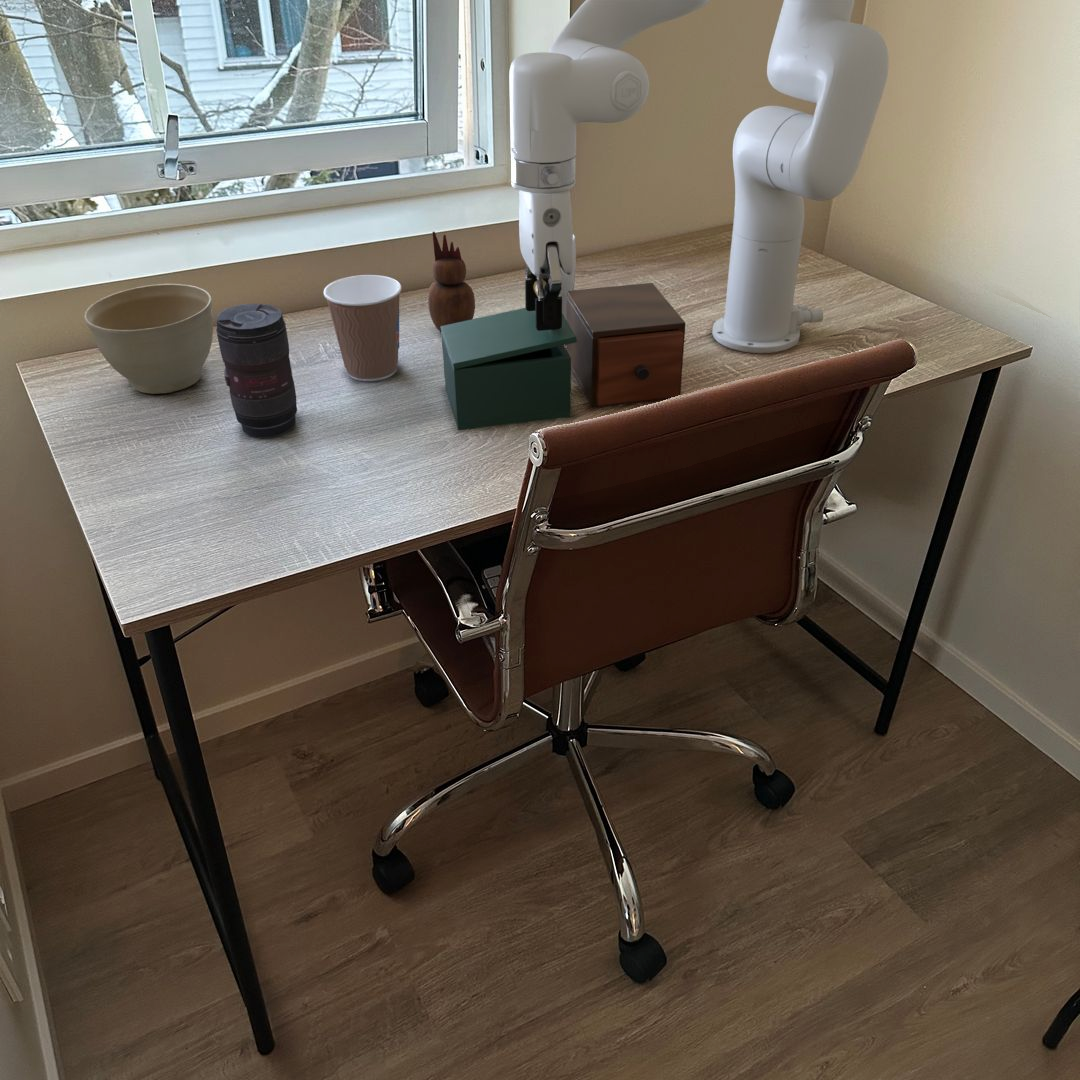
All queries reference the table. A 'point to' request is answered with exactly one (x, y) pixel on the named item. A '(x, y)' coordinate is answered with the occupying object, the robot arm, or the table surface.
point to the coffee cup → (366, 324)
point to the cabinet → (613, 325)
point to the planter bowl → (154, 334)
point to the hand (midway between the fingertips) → (543, 317)
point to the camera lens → (258, 368)
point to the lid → (501, 337)
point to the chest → (510, 389)
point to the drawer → (638, 366)
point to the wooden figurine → (449, 287)
